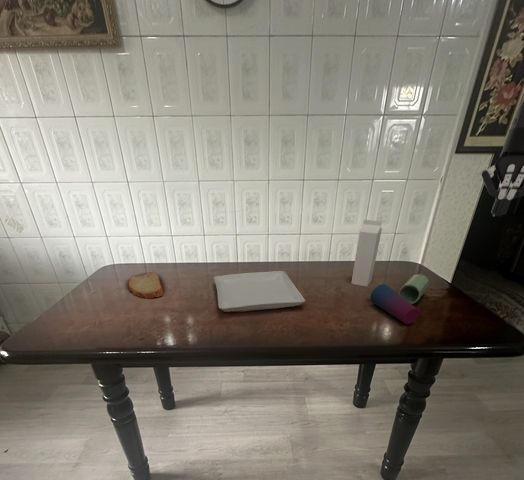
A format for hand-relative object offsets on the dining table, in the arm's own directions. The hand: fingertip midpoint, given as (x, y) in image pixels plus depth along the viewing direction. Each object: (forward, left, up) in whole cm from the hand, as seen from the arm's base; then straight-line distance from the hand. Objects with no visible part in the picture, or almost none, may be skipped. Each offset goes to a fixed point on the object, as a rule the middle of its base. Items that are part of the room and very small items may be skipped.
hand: (496, 216), depth 71 cm
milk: (+30, -20, -29) cm, 46 cm away
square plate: (+61, +7, -29) cm, 68 cm away
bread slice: (+101, +16, -29) cm, 106 cm away
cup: (+12, +7, -26) cm, 29 cm away
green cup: (+11, -19, -26) cm, 34 cm away
